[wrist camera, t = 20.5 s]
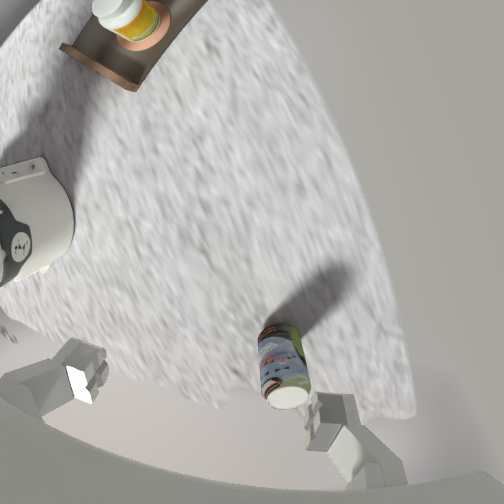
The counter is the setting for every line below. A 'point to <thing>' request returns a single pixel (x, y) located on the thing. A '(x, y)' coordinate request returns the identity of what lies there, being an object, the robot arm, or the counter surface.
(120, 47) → the walled bay
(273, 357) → the beverage can
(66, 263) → the counter surface
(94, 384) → the robot arm
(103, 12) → the supplement bottle
